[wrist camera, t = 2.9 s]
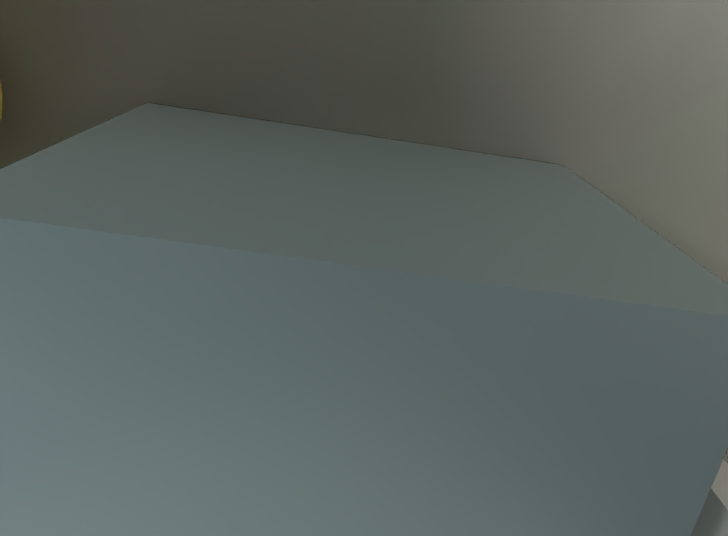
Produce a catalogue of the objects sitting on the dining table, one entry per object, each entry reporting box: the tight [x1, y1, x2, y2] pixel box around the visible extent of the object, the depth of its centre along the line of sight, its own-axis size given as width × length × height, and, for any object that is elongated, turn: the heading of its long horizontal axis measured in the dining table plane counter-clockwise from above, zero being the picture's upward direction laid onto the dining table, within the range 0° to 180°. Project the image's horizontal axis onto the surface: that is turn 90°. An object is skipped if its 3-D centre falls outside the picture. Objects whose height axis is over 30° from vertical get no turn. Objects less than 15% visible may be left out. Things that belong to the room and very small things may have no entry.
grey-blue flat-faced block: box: [0, 103, 728, 536], centre depth 14 cm, size 10×10×9 cm
